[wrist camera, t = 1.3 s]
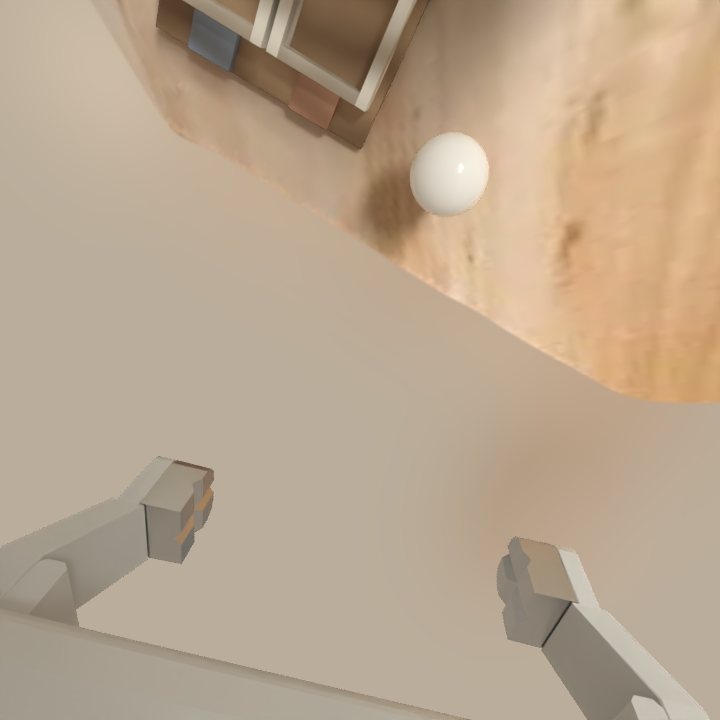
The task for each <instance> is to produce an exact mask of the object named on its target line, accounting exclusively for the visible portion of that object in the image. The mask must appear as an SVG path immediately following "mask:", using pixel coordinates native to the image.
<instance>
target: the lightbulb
mask: <svg viewBox="0 0 720 720" xmlns="http://www.w3.org/2000/svg"><path fill="white" fill-rule="evenodd" d="M488 178H489V163H488V159H487V156H486V153H485V151H484V150H483V148H482V146H481V145H480V144H479V143H478V142H477V141H476V140H475V139H474V138H472V137H471V136H469V135H466V134H464V133H460V132H445V133H441V134H439V135H436V136H434V137H432V138H431V139H429V140H428V141H427V142H426V143H425V144H424V145H423V146H422V147H421V148H420V149H419V150H418V152H417V153H416V155H415V157H414V159H413V162H412V165H411V169H410V187H411V191H412V194H413V196H414V198H415V200H416V201H417V203H418V204H419V205H420V206H421V207H422V208H423V209H424V210H425V211H427V212H428V213H430V214H433V215H436V216H440V217H452V216H456V215H459V214H462V213H464V212H466V211H467V210H469V209H470V208H472V207H473V206H474V205H475V204H476V203H477V202H478V201H479V199H480V198H481V196H482V195H483V193H484V191H485V189H486V186H487V183H488Z"/></svg>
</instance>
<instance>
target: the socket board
mask: <svg viewBox="0 0 720 720" xmlns="http://www.w3.org/2000/svg"><path fill="white" fill-rule="evenodd" d="M428 2H429V0H160V1H159V8H158V15H157V22H156V27H158V28H159V29H161V30H163V31H164V32H166V33H168V34H169V35H171V36H173V37H174V38H176V39H178V40H180V41H181V42H183V43H185V44H186V45H188V48H189V49H191V50H193V51H194V52H196V53H198V54H199V55H201V56H203V57H204V58H206V59H208V60H209V61H211V62H213V63H214V64H216V65H218V66H219V67H221V68H223V69H224V70H226V71H228V72H233V73H235V74H236V75H238V76H240V77H241V78H243V79H245V80H246V81H248V82H250V83H251V84H253V85H255V86H256V87H258V88H260V89H261V90H263V91H265V92H266V93H268V94H270V95H271V96H273V97H275V98H276V99H278V100H280V101H281V102H283V103H285V104H286V105H288V108H290V109H291V110H293V111H295V112H296V113H298V114H300V115H301V116H303V117H305V118H306V119H308V120H310V121H311V122H313V123H315V124H316V125H318V126H320V127H321V128H323V129H325V130H330V131H332V132H333V133H335V134H337V135H338V136H340V137H342V138H343V139H345V140H347V141H348V142H350V143H352V144H353V145H355V146H357V147H358V148H360V149H361V148H362V147H363V144H364V142H365V140H366V138H367V136H368V133H369V131H370V129H371V127H372V125H373V122H374V120H375V118H376V116H377V114H378V111H379V109H380V107H381V105H382V103H383V100H384V98H385V96H386V94H387V92H388V89H389V87H390V85H391V83H392V81H393V78H394V76H395V74H396V72H397V70H398V67H399V65H400V63H401V61H402V59H403V56H404V54H405V52H406V50H407V48H408V45H409V43H410V41H411V39H412V37H413V35H414V32H415V30H416V28H417V26H418V24H419V21H420V19H421V17H422V15H423V13H424V10H425V8H426V6H427V4H428Z"/></svg>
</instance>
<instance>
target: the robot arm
mask: <svg viewBox="0 0 720 720" xmlns="http://www.w3.org/2000/svg"><path fill="white" fill-rule="evenodd" d="M213 480H214V471H213V470H212V469H210V468H206V467H202V466H197V465H194V464H190V463H186V462H182V461H178V460H172V459H168V458H164V457H160V456H158V457H156V458H154V459H153V460H152V461H151V462H150V463H149V464H148V465H147V466H146V467H145V469H144V470H143V471H142V472H141V473H140V474H139V475H138V476H137V478H136V479H135V480H134V481H133V482H132V483H131V484H130V485H129V487H128V488H127V489H126V490H125V491H124V492H123V493H122V494H121V495H120V497H119V498H118V499H115V498H110V499H108V500H106V501H104V502H101V503H99V504H97V505H94V506H92V507H90V508H88V509H85V510H83V511H81V512H78V513H76V514H74V515H72V516H69V517H67V518H65V519H63V520H60V521H58V522H56V523H53V524H51V525H49V526H47V527H44V528H42V529H40V530H37V531H35V532H33V533H31V534H28V535H26V536H24V537H22V538H19V539H17V540H15V541H13V542H10V543H8V544H6V545H3V546H2V547H1V548H0V720H469V719H465V718H461V717H457V716H452V715H448V714H444V713H440V712H435V711H431V710H427V709H423V708H419V707H414V706H410V705H406V704H402V703H398V702H393V701H389V700H385V699H381V698H377V697H372V696H368V695H364V694H359V693H355V692H351V691H347V690H342V689H338V688H334V687H330V686H326V685H322V684H317V683H313V682H309V681H304V680H300V679H296V678H292V677H288V676H283V675H279V674H275V673H271V672H266V671H262V670H258V669H254V668H249V667H245V666H241V665H237V664H233V663H228V662H224V661H220V660H216V659H211V658H207V657H203V656H199V655H195V654H190V653H186V652H182V651H178V650H174V649H169V648H165V647H161V646H157V645H153V644H148V643H144V642H140V641H135V640H131V639H127V638H123V637H119V636H115V635H110V634H106V633H101V632H97V631H94V630H89V629H85V628H81V627H79V622H78V618H77V613H76V609H77V608H79V607H80V606H82V605H83V604H85V603H86V602H88V601H89V600H91V599H92V598H93V597H95V596H96V595H98V594H99V593H101V592H102V591H103V590H104V589H106V588H108V587H109V586H111V585H112V584H113V583H115V582H116V581H118V580H119V579H121V578H122V577H124V576H125V575H126V574H128V573H129V572H131V571H132V570H134V569H135V568H136V567H138V566H139V565H141V564H142V563H144V562H145V561H147V560H148V557H149V558H154V559H159V560H165V561H169V562H174V563H179V564H182V562H183V560H184V559H185V557H186V555H187V554H188V552H189V550H190V548H191V547H192V545H193V543H194V532H196V531H198V530H199V529H201V528H203V526H204V524H205V522H206V521H207V519H208V516H209V513H210V511H211V508H212V502H213V491H212V490H211V488H210V485H211V484H212V482H213ZM508 549H509V553H510V554H508V555H506V556H504V557H503V558H502V559H501V561H500V564H499V566H498V572H497V588H498V594H499V596H500V598H501V599H502V600H503V602H504V603H505V604H506V606H505V608H504V610H503V612H502V613H503V619H504V624H505V629H506V634H507V639H508V640H512V641H516V642H520V643H524V644H528V645H531V646H536V647H539V648H542V652H543V653H544V655H545V656H546V658H547V659H548V661H549V662H550V664H551V665H552V667H553V668H554V670H555V671H556V673H557V674H558V676H559V677H560V679H561V680H562V682H563V683H564V685H565V687H566V688H567V689H568V691H569V693H570V694H571V696H572V697H573V698H574V700H575V701H576V703H577V705H578V706H579V708H580V709H581V710H582V712H583V714H584V715H585V717H586V718H587V720H709V718H708V716H707V714H706V712H705V710H704V709H703V708H702V707H701V706H700V705H699V704H698V703H697V702H696V701H695V700H694V699H693V698H692V697H691V696H690V695H689V694H688V693H687V692H686V691H685V690H684V689H683V688H682V687H681V686H680V685H679V684H678V683H677V682H676V681H675V679H673V677H672V676H671V675H669V673H668V672H667V671H666V670H665V669H664V668H663V667H662V666H661V665H660V664H659V663H658V662H657V661H656V660H655V659H654V658H653V657H652V656H651V655H650V654H649V653H648V652H647V651H646V650H645V649H644V648H643V647H642V646H641V645H640V644H639V643H638V642H637V641H636V640H635V639H634V638H633V637H632V636H631V635H630V634H629V633H628V632H627V631H626V630H625V629H624V628H623V627H622V626H621V625H620V624H619V623H618V622H617V621H616V620H615V618H614V617H612V616H611V614H610V613H609V612H608V611H607V610H603V609H600V606H599V604H598V602H597V600H596V597H595V595H594V592H593V590H592V588H591V586H590V583H589V581H588V578H587V576H586V574H585V571H584V569H583V567H582V564H581V562H580V560H579V557H578V555H577V553H576V552H575V551H574V550H573V549H571V548H566V547H561V546H557V545H551V544H548V543H543V542H538V541H533V540H529V539H524V538H519V537H514V538H513V539H511V541H510V543H509V545H508Z"/></svg>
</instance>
